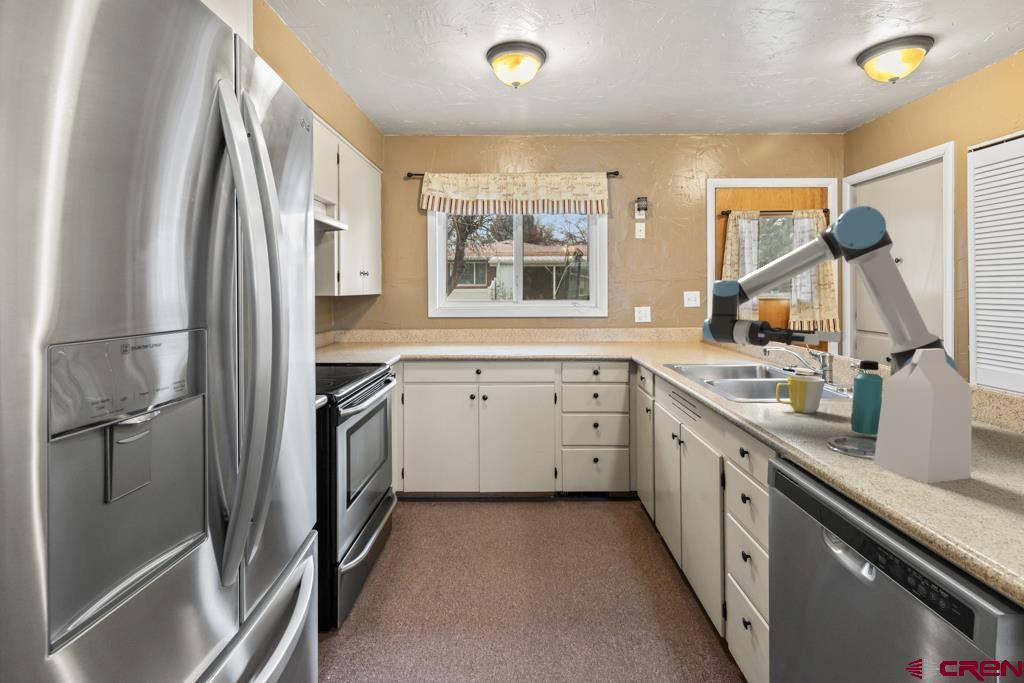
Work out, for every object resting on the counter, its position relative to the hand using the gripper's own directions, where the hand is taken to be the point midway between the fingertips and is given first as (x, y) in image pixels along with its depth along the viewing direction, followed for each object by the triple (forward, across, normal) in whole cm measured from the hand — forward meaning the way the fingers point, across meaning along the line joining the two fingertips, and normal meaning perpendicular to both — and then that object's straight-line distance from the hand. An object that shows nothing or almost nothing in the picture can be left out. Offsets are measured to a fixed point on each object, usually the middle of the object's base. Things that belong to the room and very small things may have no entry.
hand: (829, 338), depth 145 cm
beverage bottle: (+10, 0, -25) cm, 27 cm away
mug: (-15, -18, -25) cm, 34 cm away
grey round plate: (+14, +13, -25) cm, 31 cm away
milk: (+27, +20, -25) cm, 42 cm away
